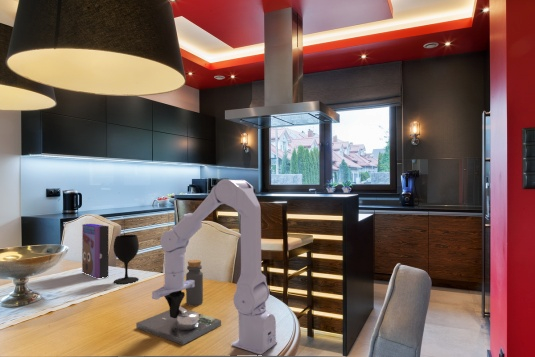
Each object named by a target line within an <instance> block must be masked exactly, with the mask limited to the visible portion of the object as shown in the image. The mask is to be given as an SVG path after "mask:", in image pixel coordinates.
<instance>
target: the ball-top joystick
mask: <svg viewBox="0 0 535 357" xmlns="http://www.w3.org/2000/svg"><path fill="white" fill-rule="evenodd" d="M199 314H200V313H199V312H198V311H195V310H194V311H193V310H187V309H186V308H185V307H183V306H181V305H180V307H179V314H178V316H177V327H178V328H179V329H181V330H190V329H194V328H196V327H198V325H199Z"/></svg>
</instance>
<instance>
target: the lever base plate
mask: <svg viewBox="0 0 535 357" xmlns="http://www.w3.org/2000/svg"><path fill="white" fill-rule="evenodd" d="M135 324H136V325H135V327H136V329H138V330H141V331H143V332H145V333H146V332H147V333H149V334H152V335H154V336H156V337H160V338H162V339H165V340H168V341H170V342H173V343H176V344H179V345H182V346H184V345H186V344H189V343H191V342H192V341H194V340H196V339H197V338H200V337H201V336H203V335H205V334H208V333H209V332H210V331H213V330H214V329H216V328H219V327H221V326H222V320H221V319H218V318H216V317H213V316H210V315H206V314H201V313H199V325H198V327H196V328H194V329H190V330H181V329H179V328H178V327H177V318H172V317H170V309H169V310H165V311H163V312H160V313H159V314H155V315H153V316H151V317H148V318H146V319H143V320H140V321H138V322H136V323H135Z"/></svg>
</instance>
